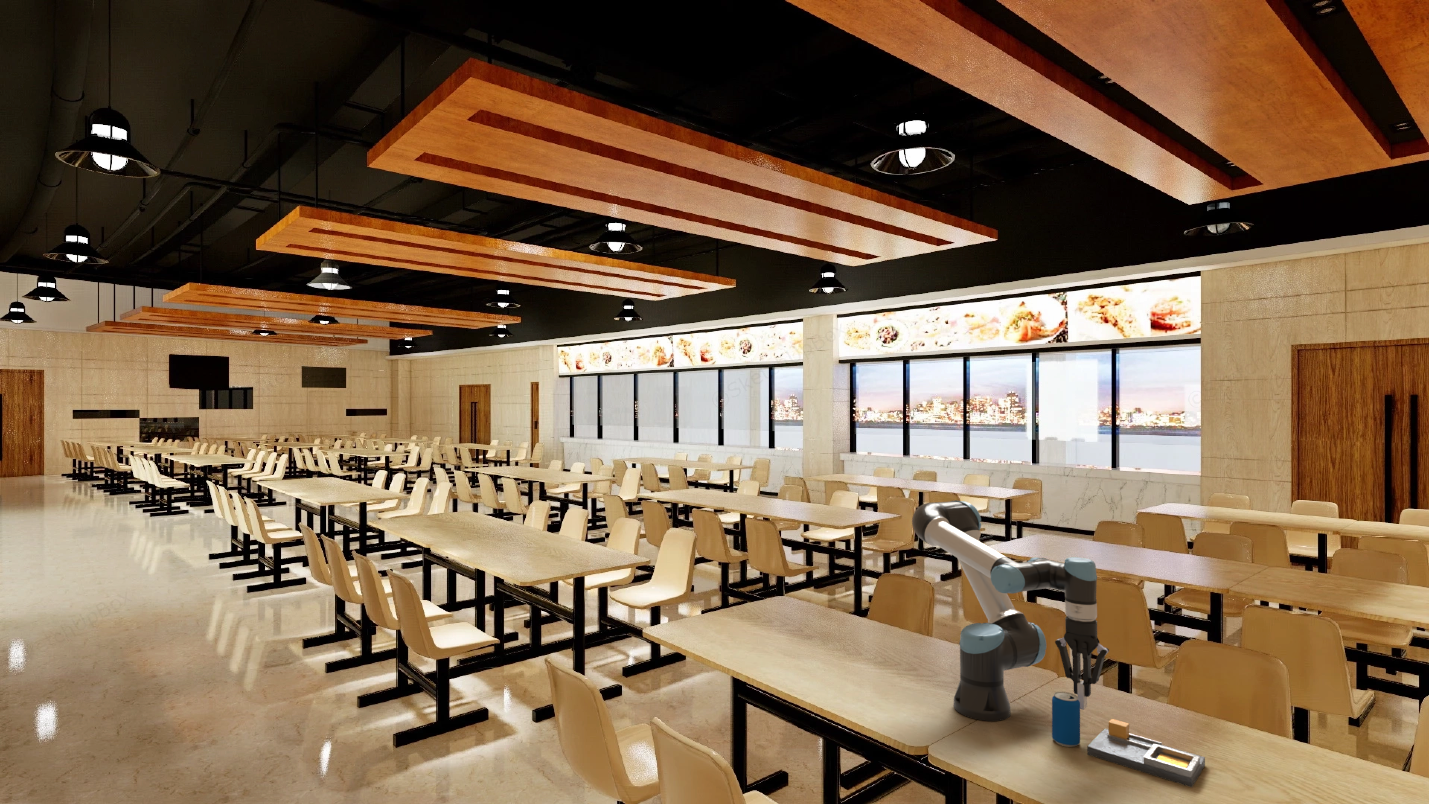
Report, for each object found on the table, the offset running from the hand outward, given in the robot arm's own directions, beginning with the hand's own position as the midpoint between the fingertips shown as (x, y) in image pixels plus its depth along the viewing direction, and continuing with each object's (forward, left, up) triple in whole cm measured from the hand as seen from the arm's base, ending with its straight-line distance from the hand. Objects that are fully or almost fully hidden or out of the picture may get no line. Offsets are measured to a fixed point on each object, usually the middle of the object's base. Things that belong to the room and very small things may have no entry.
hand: (1082, 707), depth 189 cm
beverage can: (-1, -8, -7) cm, 11 cm away
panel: (+16, -4, -7) cm, 18 cm away
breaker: (+9, 0, -5) cm, 10 cm away
